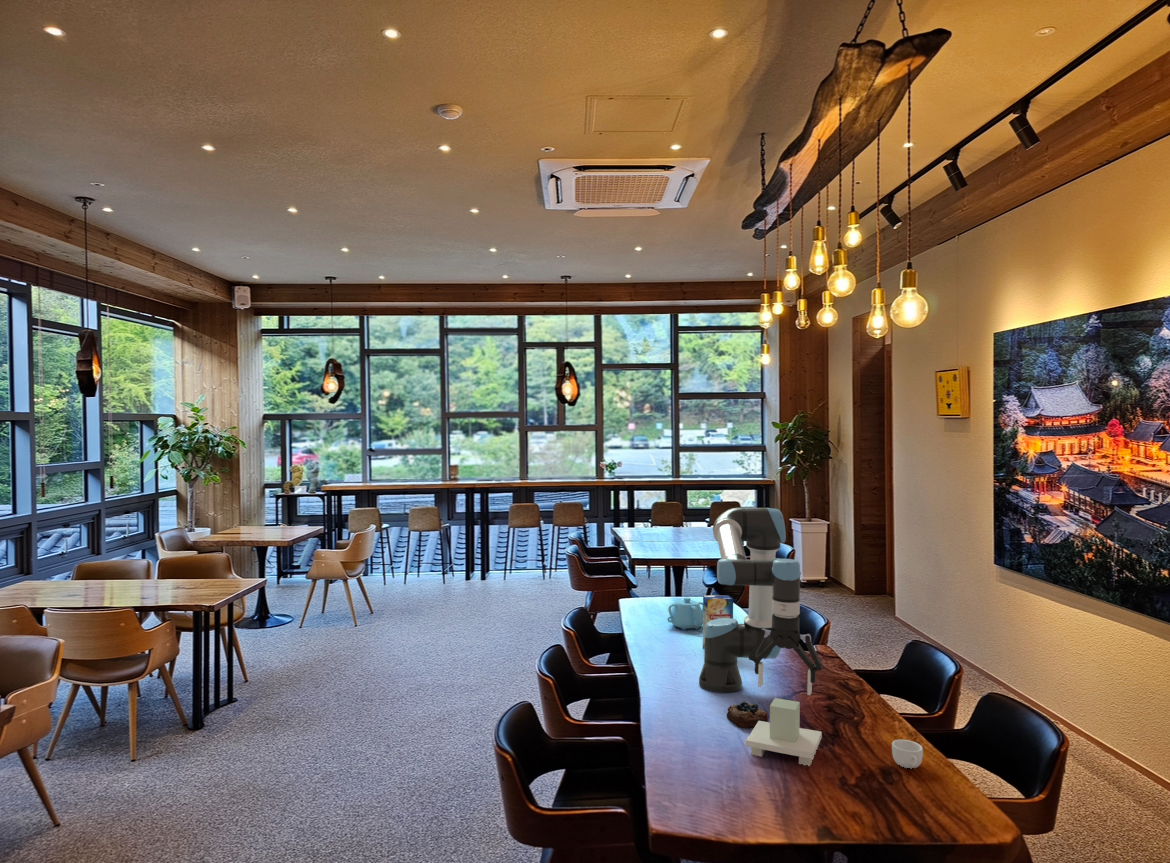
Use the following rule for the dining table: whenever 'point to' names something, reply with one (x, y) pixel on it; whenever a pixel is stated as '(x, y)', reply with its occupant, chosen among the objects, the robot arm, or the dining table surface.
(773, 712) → the sage block
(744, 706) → the pastry
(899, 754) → the teacup
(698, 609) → the decorative pot
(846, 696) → the dining table surface
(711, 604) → the beverage box
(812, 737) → the serving stand
